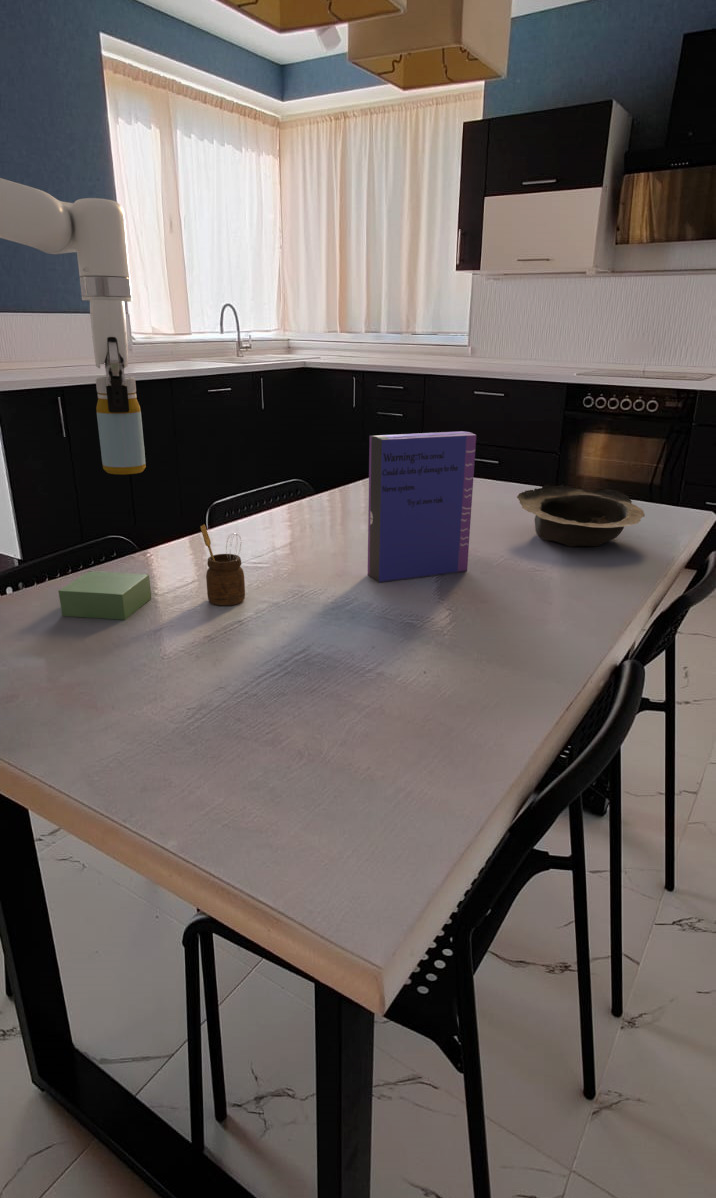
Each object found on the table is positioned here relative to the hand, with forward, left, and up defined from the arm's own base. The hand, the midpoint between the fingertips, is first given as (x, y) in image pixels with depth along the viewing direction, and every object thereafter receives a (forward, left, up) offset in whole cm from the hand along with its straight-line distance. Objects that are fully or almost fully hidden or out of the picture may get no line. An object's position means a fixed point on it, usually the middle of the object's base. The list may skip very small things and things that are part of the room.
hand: (118, 408), depth 127 cm
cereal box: (+50, +6, -28) cm, 58 cm away
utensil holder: (+21, -14, -28) cm, 37 cm away
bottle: (0, 0, -10) cm, 10 cm away
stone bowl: (+81, +36, -28) cm, 93 cm away
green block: (+4, -20, -27) cm, 34 cm away
